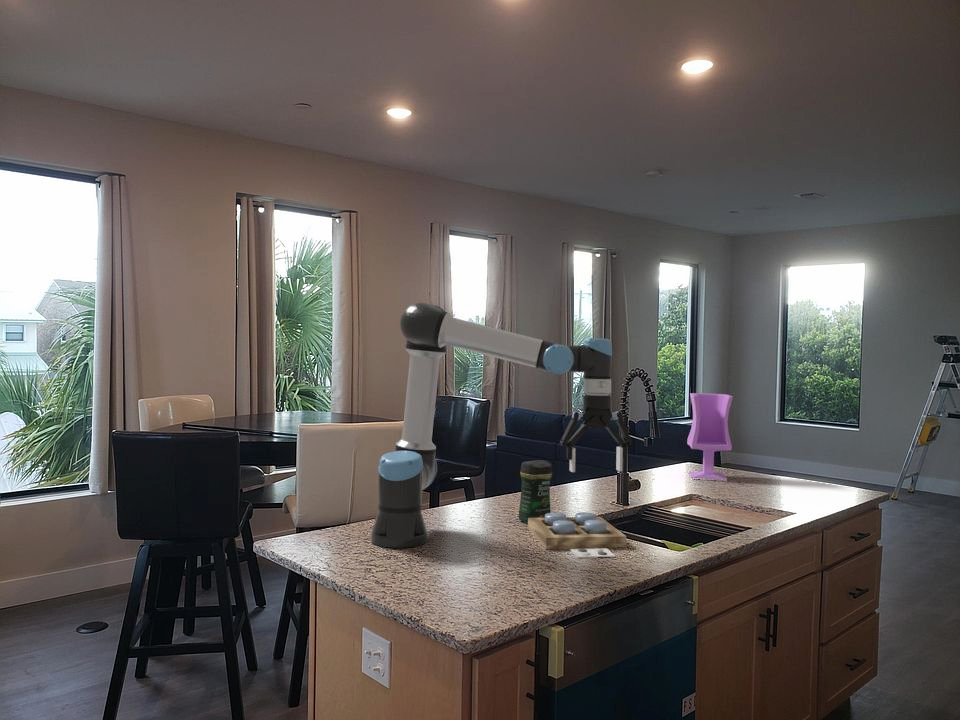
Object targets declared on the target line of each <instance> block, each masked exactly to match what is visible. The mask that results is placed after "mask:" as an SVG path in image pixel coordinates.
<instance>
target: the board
mask: <svg viewBox="0 0 960 720" xmlns="http://www.w3.org/2000/svg"><path fill="white" fill-rule="evenodd" d="M596 520H600V521H604V522H606V523H607V533H605V534H589V533H586V532H585V531H584V530H585V526H581V525H577V524H575V533H574V534H565V535H559V534H555V533H553V526H548V525H545V518H528V523H527V529H528V531H530V532H531V534H532V535H533V536H534V537H535V538H536V540H537V541H539V543H540V544H541V545H542V546H543V547H544V549H545V550H567V549H568V550H570V549H587V548H607V549H618V548H617V547H626V548H627V535H625V534H624V533H622V532H621V531H620V530H618V528H616V527H615V526H614V525H612V524H611V523H609V522H608V521H606V520H605V519H604V518H602V517H601V516H596ZM566 521H571V522H574V523H575V516H570V517H569V516H566Z"/></svg>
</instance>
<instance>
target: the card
mask: <svg viewBox="0 0 960 720" xmlns="http://www.w3.org/2000/svg"><path fill="white" fill-rule="evenodd" d="M569 551H570V552H571V553H572V554H573V555H574V556H575V558H577V559H599V558H598V557H610V558H616V554H614V553H613V552H611V550H610V549H609V548H581V549H569Z"/></svg>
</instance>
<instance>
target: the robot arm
mask: <svg viewBox="0 0 960 720" xmlns="http://www.w3.org/2000/svg"><path fill="white" fill-rule="evenodd" d="M400 316H401V317H400V320H399V327H400V332H401V334H402V335H403V337H404V338H405V339H406V344H405V351H406V352H407V353H408V354H409V365H408V374H407V375H408V376H407V384H406V395H405V404H404V413H403V414H404V415H403V425H402V432H401V439H399V441H397V442H396V443H395V450H394V451H392V452H390V451H389V452H386V453H384V454H383V455H382V456H381V457H380V459H379V464H378V500H377V501H378V502H377V503H378V507H377V508H378V509H377V514H376V518H375V519H374V520H375V521H374V524H373V527H372V529H371V532H370V533H371V534H370V542H371V543H372V544H374V545H376V546H380V547H384V548H390V549H391V548H392V549H393V548H395V549H399V548H400V549H402V548H403V549H404V548H414V547H419V546H422V545H423V544H425V543H427V541H428V529H427V527H426V524H425V523H426V522H425V520H424V517H423V512H422V504H423V503H422V501H423V500H422V499H423V491H424V490H425V489H427V488H428V487H429V486H430V485H432V483H433V482H434V481H435V478H436V477H437V472H438V464H437V460H436V454H437V453H436V452H437V446H436V444H434V443H433V441H432V439H433V431H434V430H433V428H434V419H435V413H436V412H435V411H436V410H435V408H436V402H437V400H436V399H437V393H438V392H437V390H438V382H439V381H438V380H439V370H440V364H441V363H440V361H441V358H442V357H443V356H445V355H446V354H447V347H448V346H449V347H451V348H452V347H453V348H457V349H461V350H464V351H468V352H473V353H476V354H480V355H484V356H488V357H491V358H496V359H499V360H504V361H508V362H511V363H514V364H518V365H524V366H528V367H531V368H536V369H538V370H541V371H543V372H549V373H551V374H555V375H563V374H565V373H583V393H585V394H584V396H583V399H582V400H583V405H582V406H583V411H582V412H577V411H574V410H573V411H572V412H571V418H570V421H569V423H568V425H567V427H566V429H565V431H564V433H563V435H562V437H561V439H560V440H559V444H560V445H561V446H564V447H565V448H566V449H565V450H566V451H565V452H566V459H567V460H568V461H569V468H568V469H569V472H571V473H576V447H574V446H575V445H576V444H577V442H578V441H579V440H580V439H581V438H582V436H583V435H584V434H585V433H586V431H587V430H589V429H590V428H591V429H598V428H599V429H604V428H605V429H606V430H607V432H608V433H609V434H610V436H611V437H612V438H613V439H614V440H615V443H617V444H618V445H619V446H616V455H615V456H616V459H615V462H616V463H615V465H616V467H615V468H616V469H615V470H616V471H618V472H623V460H625V459H626V458H627V457H626V450H627V448H628V446H632V445H633V443H634V442H633V440H632V438H631V435H630V434H629V432H628V429H627V427H626V424H625V423H624V420H623V412H621V411H617V410H616V411H614V412H612V396H611V395H610V394H611V393H612V368H613V367H612V366H613V362H612V361H613V350H612V349H613V347H612V345H613V343H612V341H611V339H609V338H601V337H600V338H591V337H590V338H587V337H586V338H585V339H584V342H583V344H580V345H579V344H578V345H573V344H572V345H571V344H561V343H556V342H551V341H548V340H542V339H540V338H535V337H531V336H529V335H523V334H519V333H515V332H511V331H507V330H505V329H500V328H495V327H491V326H487V325H483V324H481V323H475V322H473V321H472V322H471V321H468V320H465V319H464V320H463V319H461V318H455V317H453V316H452V315H451V313H450V312H448V311H445V309H443V308H442V307H441V306H438V305H434V304H433V303H432V304H429V303H425V302H416V303H413V304H410V305H408V306H407V307H406V308H404V311H403V312H402V314H401V315H400ZM581 418H582V419H583V421H582V423H581V424H580V427H579V428H578V429H577V430H576V431H575V433H574V430H575V429H576V426H577V424H578V423H579V421H580V420H581ZM612 418H613V420H615V424H616V425H617V427H618V430H619V432H620V434H621V436H622V437H621V436H620V435H619V433H618V432H617V430H616V429H615V428H614V427H613V425H612V424H611V422H610V421H611V419H612ZM573 433H574V434H573ZM572 434H573V435H572Z"/></svg>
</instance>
